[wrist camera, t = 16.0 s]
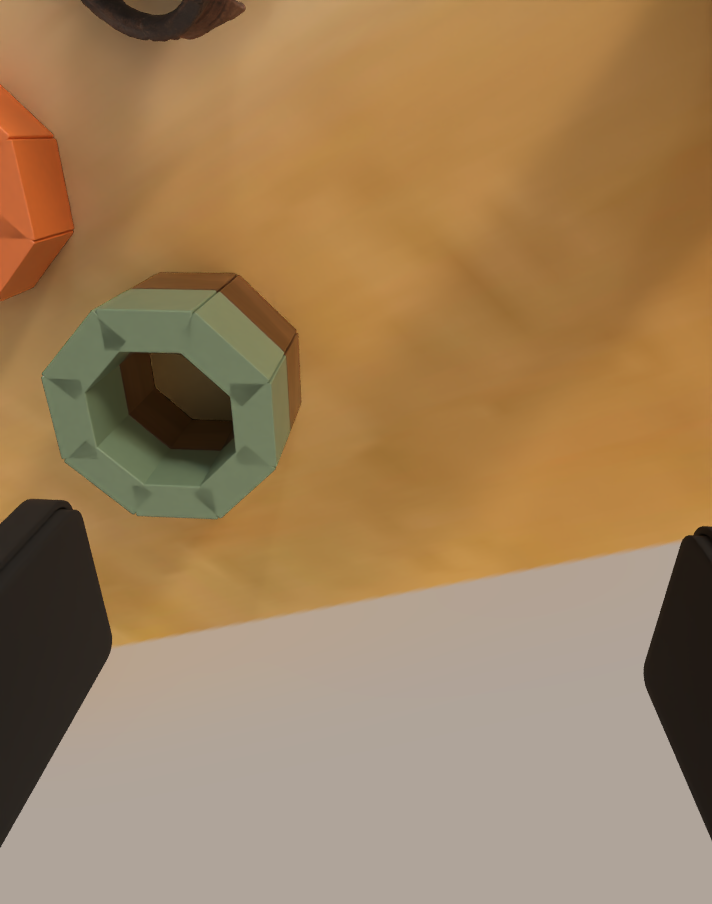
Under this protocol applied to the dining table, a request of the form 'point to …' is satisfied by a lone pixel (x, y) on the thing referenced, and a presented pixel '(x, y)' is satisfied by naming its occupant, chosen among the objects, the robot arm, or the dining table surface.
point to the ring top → (29, 199)
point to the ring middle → (132, 446)
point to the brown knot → (166, 18)
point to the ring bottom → (165, 415)
